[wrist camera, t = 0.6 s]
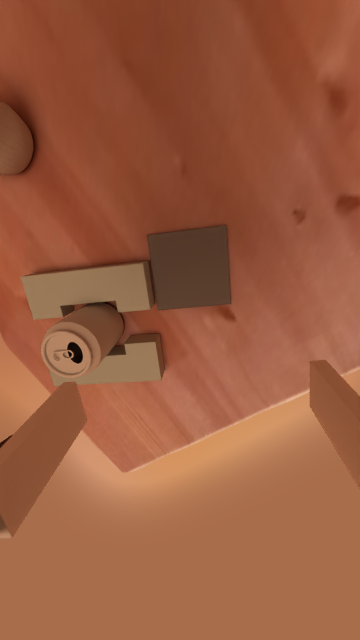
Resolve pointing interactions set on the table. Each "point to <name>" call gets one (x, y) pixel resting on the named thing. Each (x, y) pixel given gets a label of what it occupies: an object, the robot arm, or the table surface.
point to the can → (82, 340)
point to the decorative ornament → (13, 142)
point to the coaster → (190, 267)
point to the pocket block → (100, 286)
